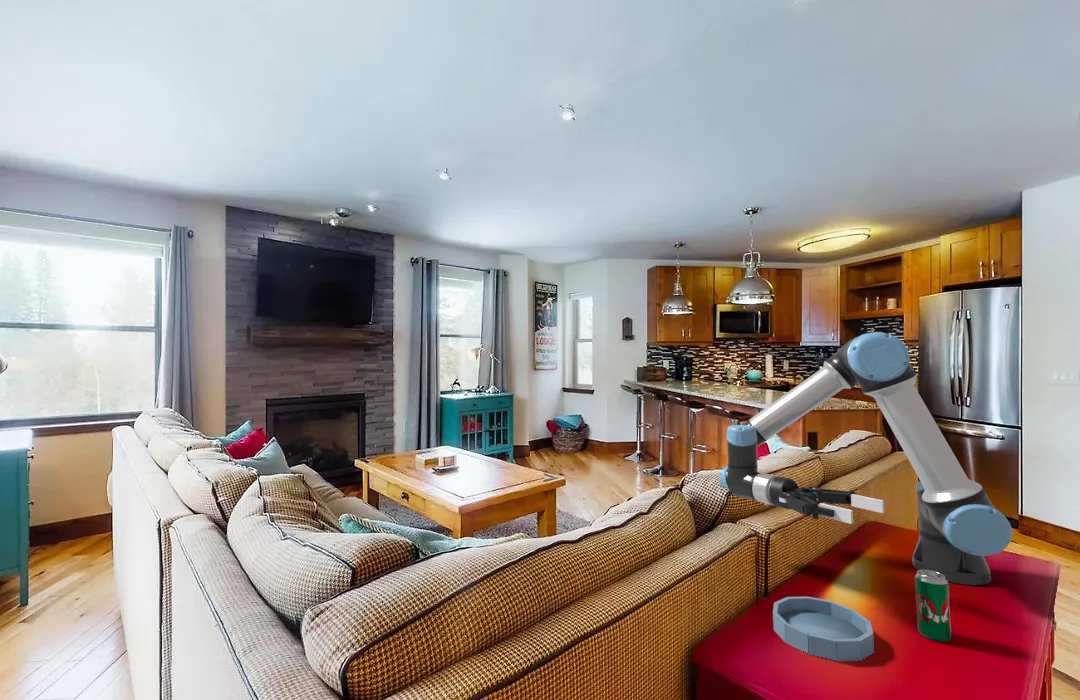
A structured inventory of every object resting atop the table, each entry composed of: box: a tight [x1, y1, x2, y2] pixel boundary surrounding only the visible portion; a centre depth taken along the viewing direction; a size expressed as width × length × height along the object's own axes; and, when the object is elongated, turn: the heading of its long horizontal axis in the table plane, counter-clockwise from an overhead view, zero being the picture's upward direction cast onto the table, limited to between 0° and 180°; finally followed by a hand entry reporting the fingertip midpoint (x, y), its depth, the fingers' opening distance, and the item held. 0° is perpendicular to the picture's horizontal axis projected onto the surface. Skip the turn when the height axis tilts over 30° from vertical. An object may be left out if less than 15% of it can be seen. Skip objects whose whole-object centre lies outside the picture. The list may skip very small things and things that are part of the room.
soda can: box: [914, 570, 952, 643], centre depth 93 cm, size 5×5×12 cm
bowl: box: [772, 596, 875, 662], centre depth 94 cm, size 17×17×4 cm
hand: (868, 511), depth 103 cm, fingers open, 13 cm apart
